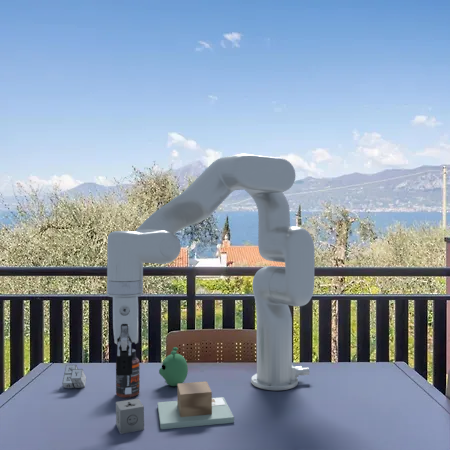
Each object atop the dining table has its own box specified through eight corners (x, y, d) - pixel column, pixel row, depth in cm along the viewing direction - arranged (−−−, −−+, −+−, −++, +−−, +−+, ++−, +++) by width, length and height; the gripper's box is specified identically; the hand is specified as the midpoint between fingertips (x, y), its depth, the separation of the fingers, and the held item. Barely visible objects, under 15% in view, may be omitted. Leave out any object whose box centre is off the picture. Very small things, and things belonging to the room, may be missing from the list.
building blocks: (66, 392, 129) (59, 378, 123) (70, 374, 132) (64, 359, 126) (86, 392, 129) (80, 378, 123) (89, 373, 132) (84, 359, 127)
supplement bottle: (134, 399, 118) (133, 354, 118) (112, 398, 119) (111, 353, 119) (143, 391, 124) (142, 347, 124) (121, 389, 125) (121, 346, 125)
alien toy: (160, 381, 131) (160, 345, 131) (188, 380, 131) (188, 344, 131) (157, 390, 124) (157, 352, 124) (187, 390, 124) (186, 352, 124)
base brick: (207, 402, 113) (206, 381, 113) (211, 414, 106) (211, 392, 106) (177, 404, 111) (177, 383, 111) (180, 417, 105) (180, 394, 104)
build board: (223, 401, 116) (223, 396, 116) (234, 422, 104) (234, 416, 104) (157, 407, 113) (157, 401, 113) (160, 429, 101) (160, 423, 101)
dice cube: (120, 434, 99) (120, 410, 99) (116, 424, 104) (115, 402, 104) (144, 429, 101) (143, 406, 101) (138, 420, 106) (138, 398, 106)
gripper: (143, 293, 95) (143, 379, 95) (141, 282, 111) (141, 355, 112) (104, 294, 93) (104, 382, 93) (109, 283, 110) (108, 357, 110)
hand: (124, 367), depth 102 cm, fingers open, 9 cm apart
